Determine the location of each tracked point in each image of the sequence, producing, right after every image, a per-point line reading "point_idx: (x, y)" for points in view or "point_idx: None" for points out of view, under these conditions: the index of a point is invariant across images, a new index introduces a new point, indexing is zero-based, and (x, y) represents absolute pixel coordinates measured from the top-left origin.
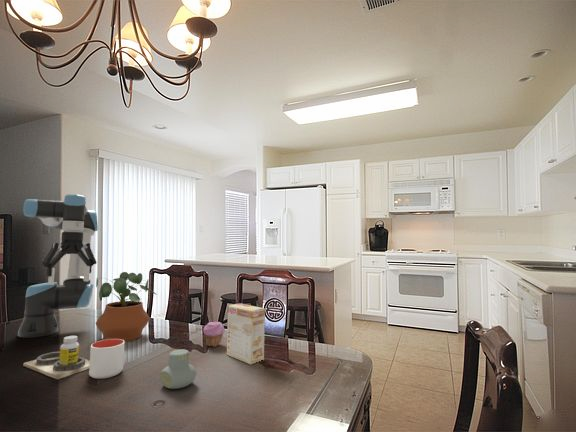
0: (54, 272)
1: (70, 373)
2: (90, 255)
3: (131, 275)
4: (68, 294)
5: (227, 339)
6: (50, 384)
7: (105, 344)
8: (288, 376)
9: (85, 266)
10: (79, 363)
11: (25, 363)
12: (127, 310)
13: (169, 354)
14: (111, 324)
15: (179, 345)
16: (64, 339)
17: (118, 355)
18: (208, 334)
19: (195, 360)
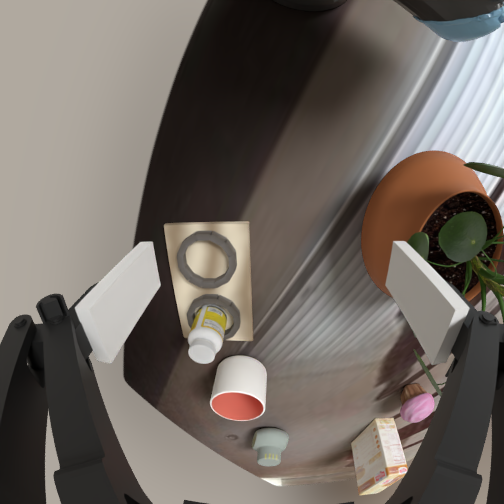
0: (125, 339)
1: None
2: (492, 444)
3: None
4: None
5: (378, 436)
6: (173, 340)
7: (247, 387)
8: (334, 463)
9: (446, 324)
10: None
11: (165, 231)
12: None
13: (259, 459)
14: (371, 271)
15: (398, 357)
16: (188, 352)
17: (243, 408)
18: (401, 408)
19: (342, 410)
